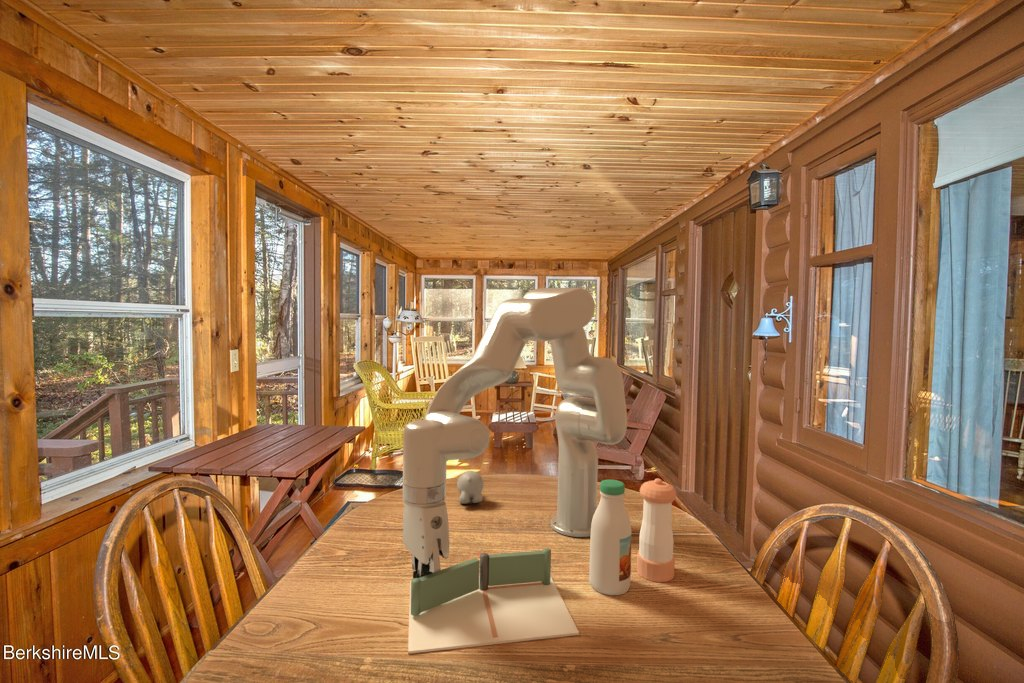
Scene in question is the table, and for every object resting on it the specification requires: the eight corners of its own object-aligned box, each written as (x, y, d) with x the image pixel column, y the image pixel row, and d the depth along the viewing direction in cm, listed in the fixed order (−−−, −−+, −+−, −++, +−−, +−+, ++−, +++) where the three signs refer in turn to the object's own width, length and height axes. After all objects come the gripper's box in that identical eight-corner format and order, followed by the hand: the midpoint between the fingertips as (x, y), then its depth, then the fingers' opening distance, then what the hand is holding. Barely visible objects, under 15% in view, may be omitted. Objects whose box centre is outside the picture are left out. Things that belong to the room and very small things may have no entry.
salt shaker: (664, 586, 93) (667, 488, 92) (630, 572, 98) (632, 479, 97) (680, 572, 99) (683, 479, 98) (647, 559, 104) (649, 470, 103)
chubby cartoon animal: (481, 503, 140) (480, 473, 142) (484, 503, 128) (484, 469, 131) (455, 504, 139) (456, 473, 141) (457, 503, 127) (457, 470, 130)
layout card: (546, 570, 98) (547, 568, 98) (578, 634, 79) (579, 631, 79) (410, 582, 93) (410, 579, 93) (408, 654, 74) (408, 650, 74)
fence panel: (474, 586, 91) (475, 556, 90) (479, 590, 89) (480, 560, 89) (409, 612, 82) (409, 580, 82) (413, 616, 81) (413, 584, 81)
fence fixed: (549, 582, 94) (549, 547, 94) (551, 586, 93) (552, 551, 92) (478, 588, 92) (479, 553, 91) (480, 593, 90) (480, 557, 90)
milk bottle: (606, 601, 88) (609, 492, 87) (581, 580, 95) (583, 479, 94) (638, 590, 92) (642, 486, 91) (612, 571, 99) (615, 473, 98)
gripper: (464, 500, 82) (462, 606, 83) (425, 476, 94) (423, 568, 95) (423, 509, 78) (421, 621, 79) (387, 482, 90) (386, 580, 91)
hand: (422, 592), depth 87 cm, fingers closed
